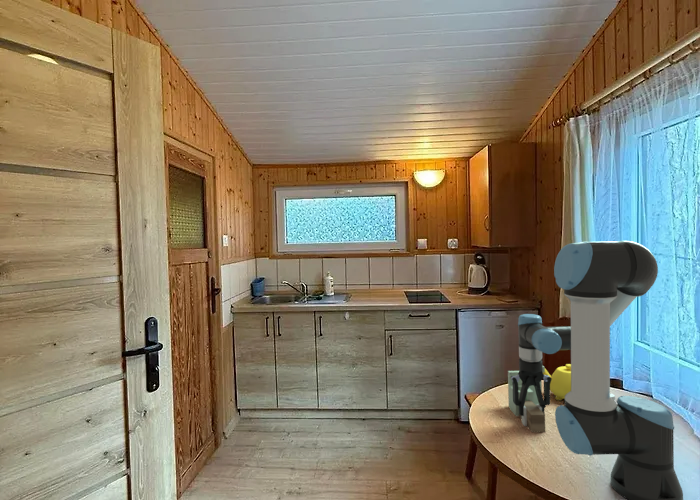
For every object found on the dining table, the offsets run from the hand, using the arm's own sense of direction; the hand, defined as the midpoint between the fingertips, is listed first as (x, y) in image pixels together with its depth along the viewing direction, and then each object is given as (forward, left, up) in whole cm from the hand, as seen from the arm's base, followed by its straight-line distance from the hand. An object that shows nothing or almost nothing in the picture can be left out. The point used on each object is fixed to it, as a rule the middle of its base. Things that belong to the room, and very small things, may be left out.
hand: (531, 424), depth 145 cm
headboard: (+11, +5, 0) cm, 12 cm away
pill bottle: (+18, -19, 0) cm, 26 cm away
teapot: (+33, -1, 0) cm, 33 cm away
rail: (+2, +2, 0) cm, 2 cm away
